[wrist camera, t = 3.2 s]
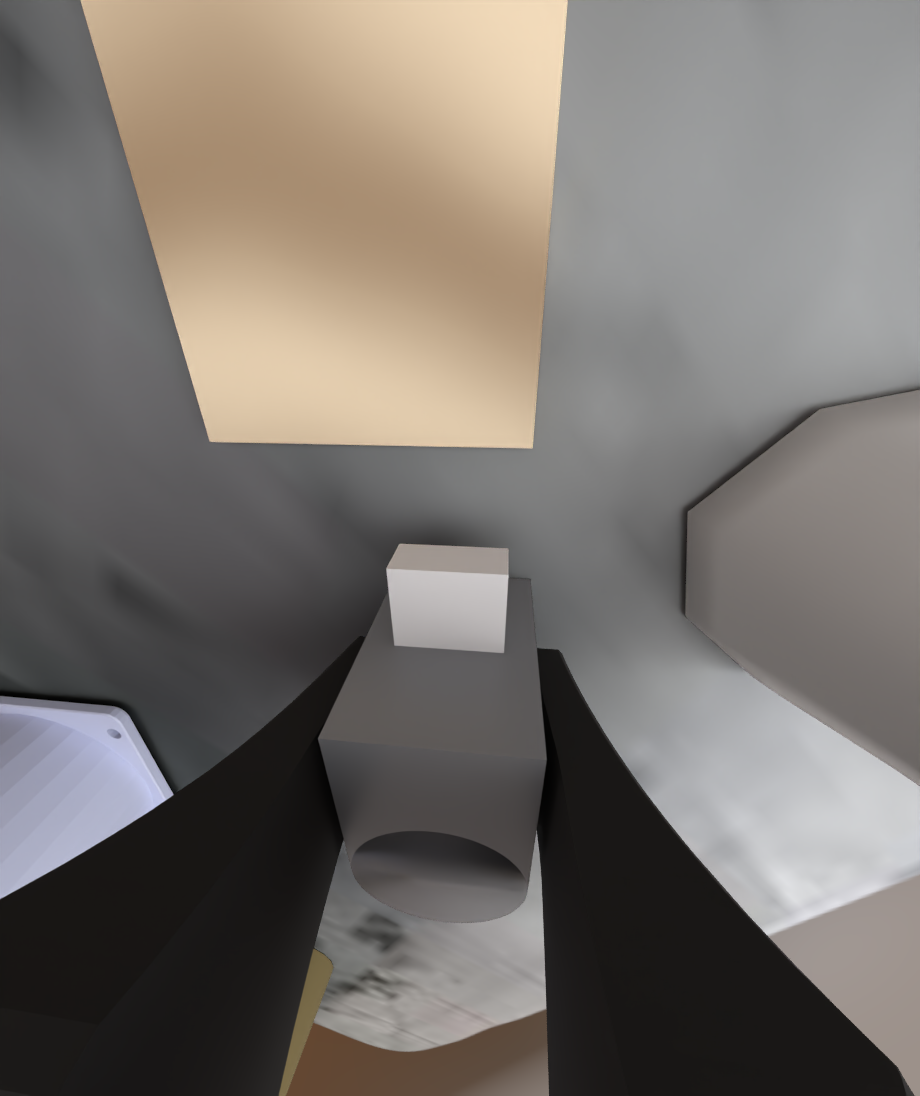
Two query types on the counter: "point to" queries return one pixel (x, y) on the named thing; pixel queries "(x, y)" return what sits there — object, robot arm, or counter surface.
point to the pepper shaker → (306, 1012)
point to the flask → (823, 572)
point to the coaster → (346, 207)
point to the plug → (442, 738)
